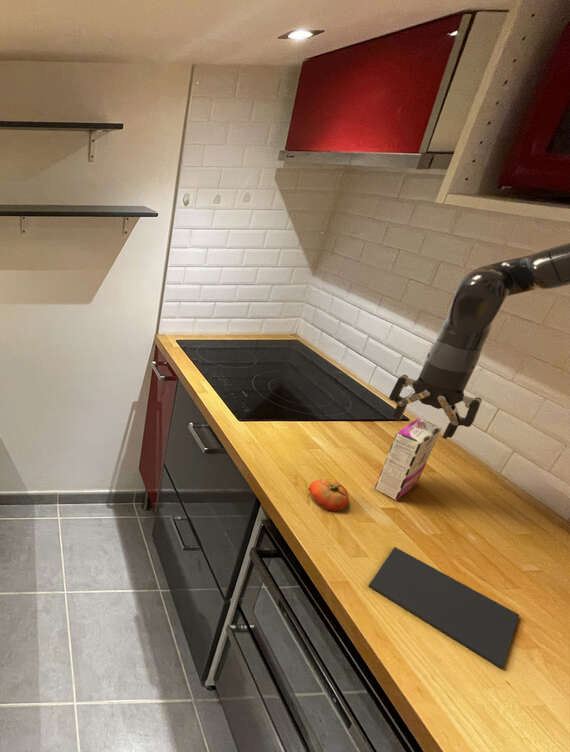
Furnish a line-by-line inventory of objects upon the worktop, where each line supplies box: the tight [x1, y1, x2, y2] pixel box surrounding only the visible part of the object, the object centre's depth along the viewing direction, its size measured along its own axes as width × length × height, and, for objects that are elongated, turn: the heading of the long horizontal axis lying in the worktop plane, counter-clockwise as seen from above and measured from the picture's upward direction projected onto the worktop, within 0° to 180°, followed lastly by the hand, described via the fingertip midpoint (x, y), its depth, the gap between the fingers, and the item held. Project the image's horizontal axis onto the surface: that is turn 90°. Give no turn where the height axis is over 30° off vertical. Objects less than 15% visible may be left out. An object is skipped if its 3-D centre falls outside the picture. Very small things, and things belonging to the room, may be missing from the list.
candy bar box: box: [374, 418, 443, 502], centre depth 103 cm, size 11×5×16 cm, turn 122°
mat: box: [368, 546, 520, 670], centre depth 79 cm, size 18×14×1 cm
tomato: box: [307, 478, 350, 512], centre depth 101 cm, size 8×7×7 cm
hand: (420, 428), depth 99 cm, fingers open, 8 cm apart
